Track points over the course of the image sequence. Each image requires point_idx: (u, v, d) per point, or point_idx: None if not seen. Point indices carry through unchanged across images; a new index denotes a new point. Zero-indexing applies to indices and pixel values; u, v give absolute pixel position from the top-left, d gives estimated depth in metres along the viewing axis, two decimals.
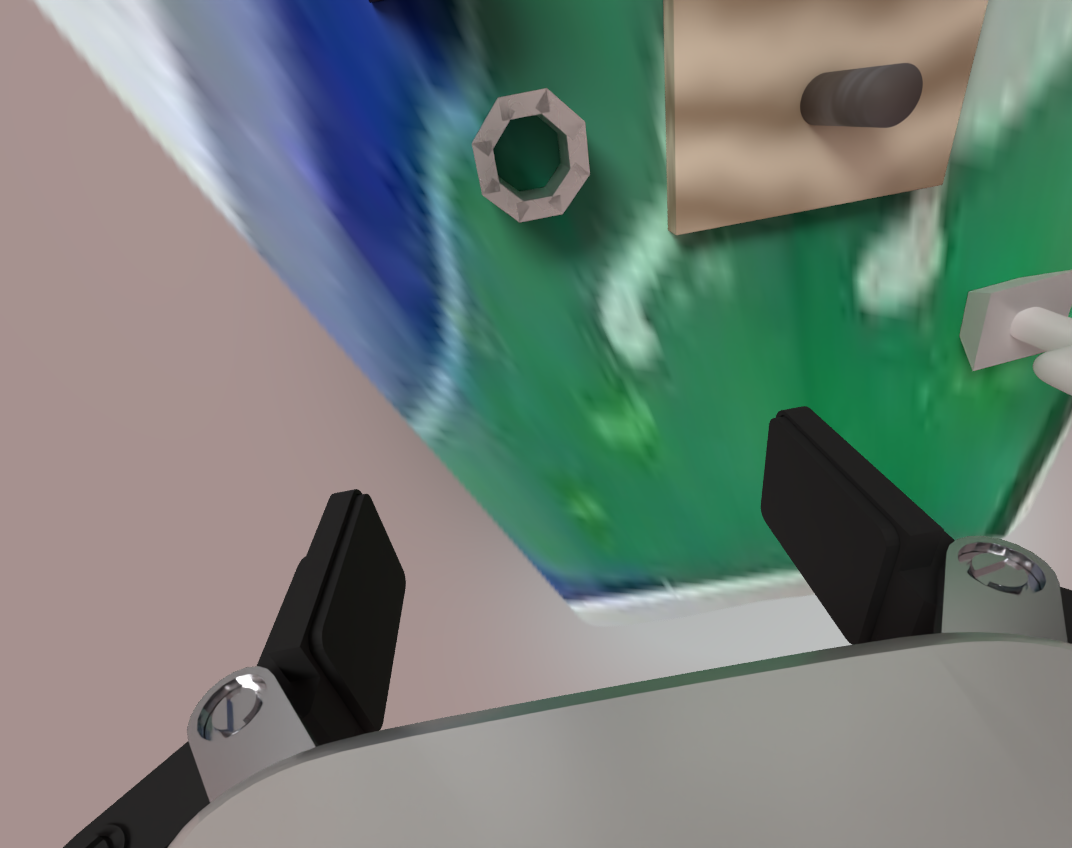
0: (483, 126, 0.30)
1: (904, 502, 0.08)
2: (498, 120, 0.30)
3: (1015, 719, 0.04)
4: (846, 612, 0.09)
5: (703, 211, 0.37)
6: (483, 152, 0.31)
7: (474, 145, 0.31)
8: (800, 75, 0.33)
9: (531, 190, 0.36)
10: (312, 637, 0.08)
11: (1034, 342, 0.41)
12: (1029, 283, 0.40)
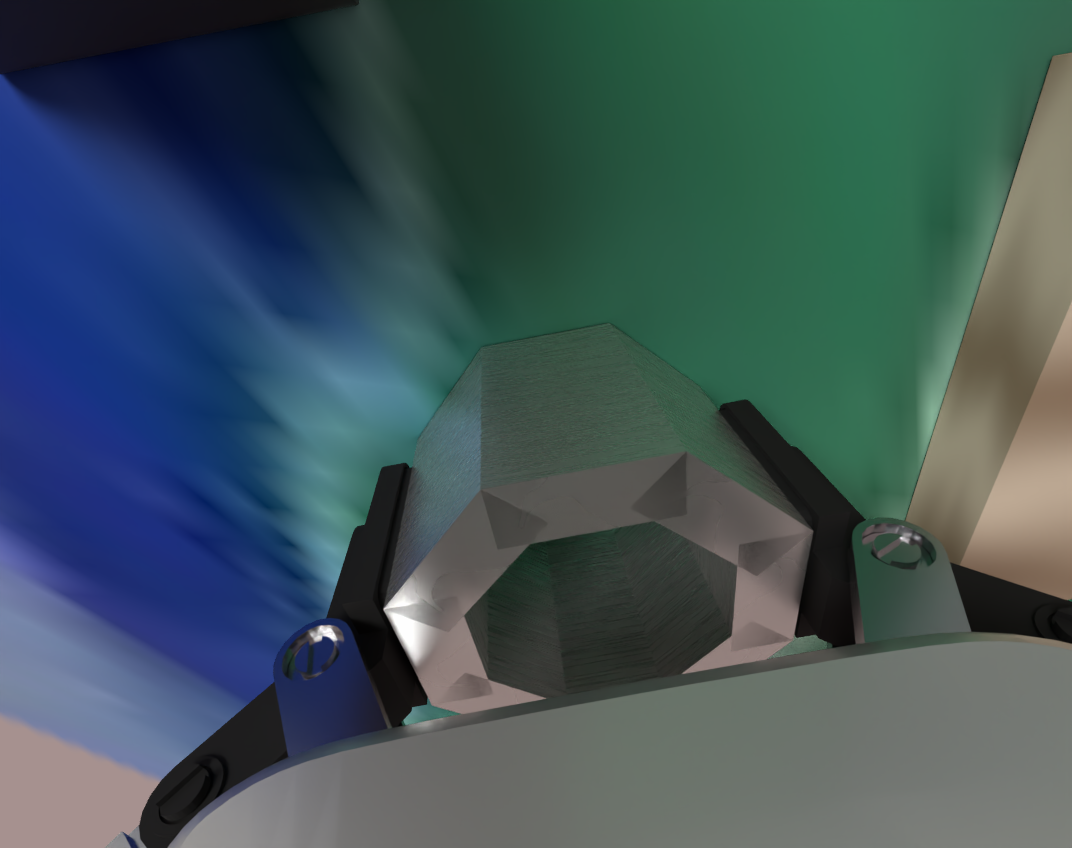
0: (424, 566, 0.08)
1: (820, 487, 0.09)
2: (480, 548, 0.08)
3: (1015, 719, 0.04)
4: None
5: (1018, 581, 0.14)
6: (429, 624, 0.08)
7: (394, 604, 0.08)
8: None
9: (576, 542, 0.14)
10: (381, 591, 0.08)
11: None
12: None
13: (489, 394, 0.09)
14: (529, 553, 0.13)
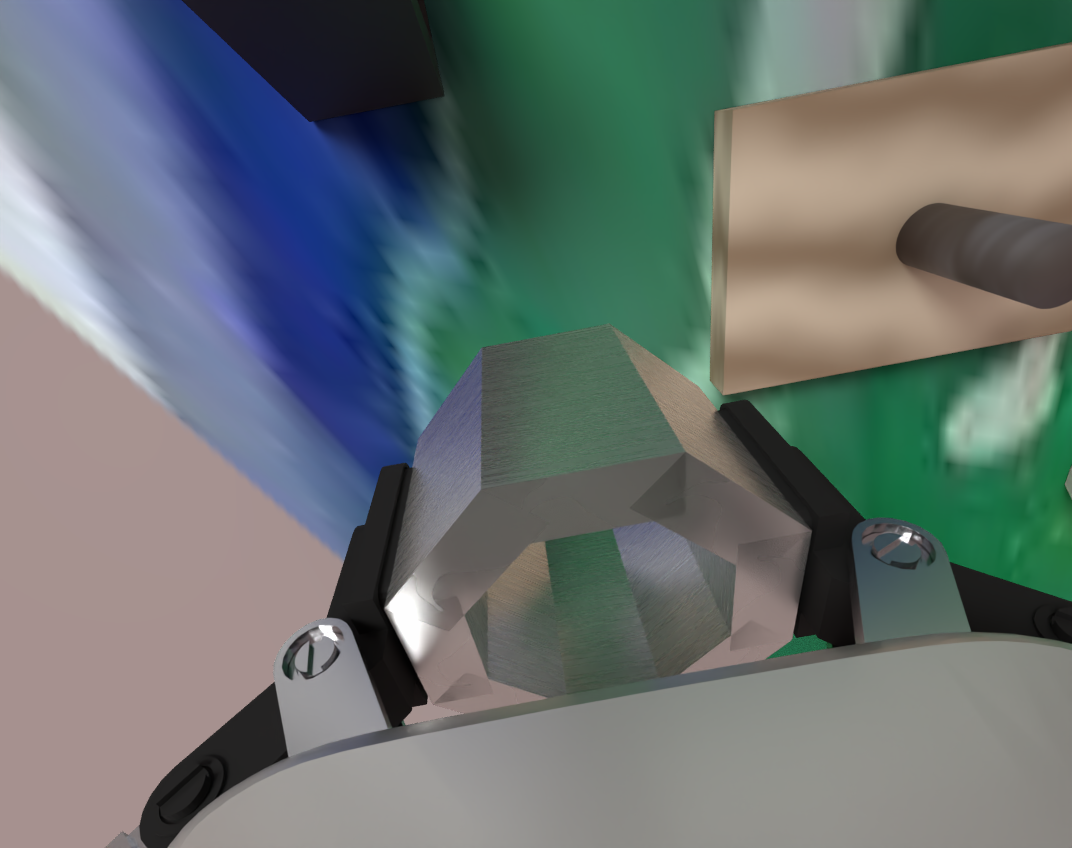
0: (424, 566, 0.08)
1: (819, 487, 0.09)
2: (480, 548, 0.08)
3: (1015, 719, 0.04)
4: None
5: (759, 368, 0.28)
6: (429, 624, 0.08)
7: (394, 604, 0.08)
8: (899, 207, 0.24)
9: (576, 542, 0.14)
10: (381, 591, 0.08)
11: None
12: None
13: (489, 395, 0.09)
14: (529, 553, 0.13)
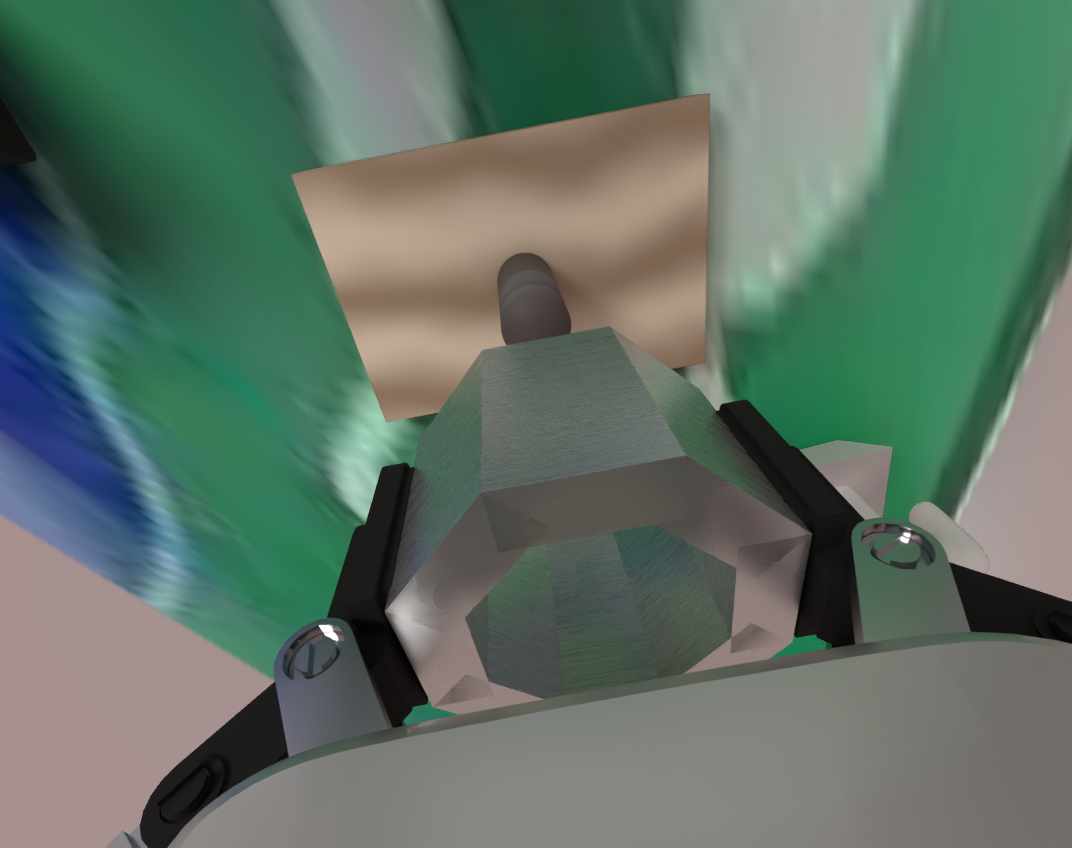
0: (425, 569, 0.08)
1: (819, 487, 0.09)
2: (481, 550, 0.08)
3: (1015, 719, 0.04)
4: None
5: (412, 398, 0.30)
6: (430, 627, 0.08)
7: (395, 607, 0.08)
8: (488, 257, 0.26)
9: (577, 544, 0.14)
10: (382, 591, 0.08)
11: None
12: (830, 463, 0.34)
13: (490, 397, 0.09)
14: (529, 555, 0.13)
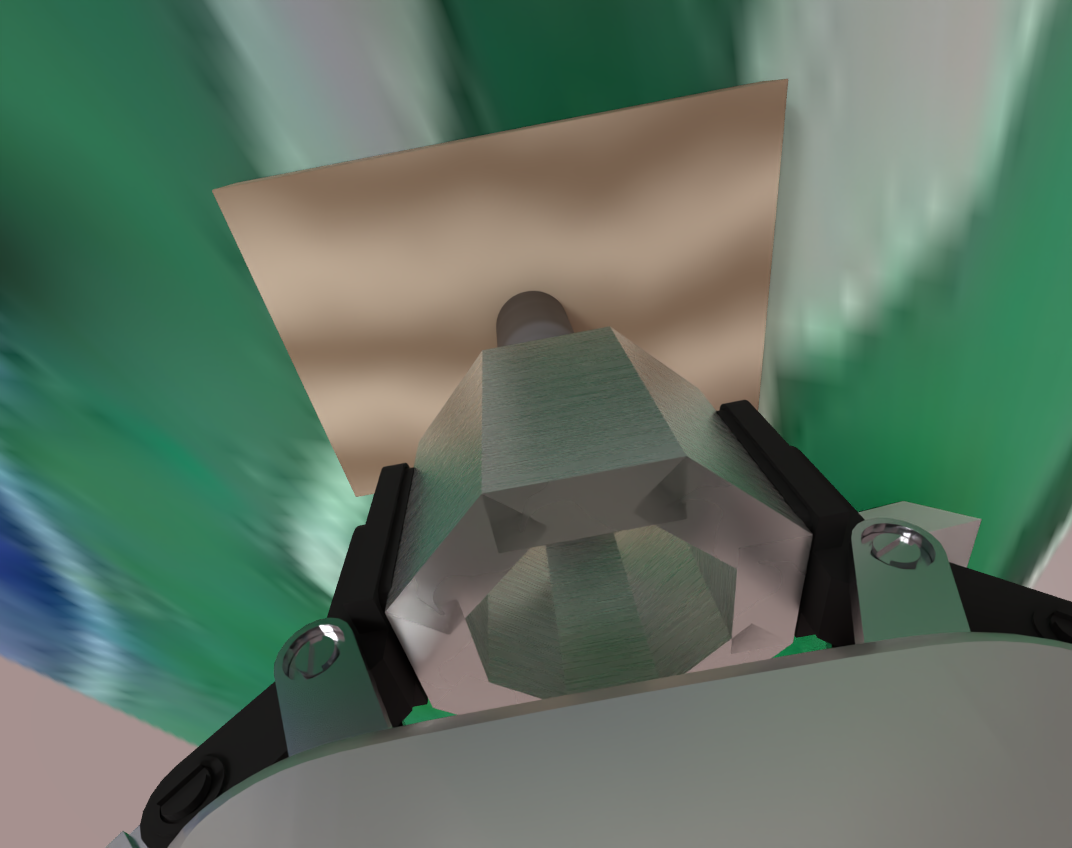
0: (425, 570, 0.08)
1: (819, 487, 0.09)
2: (481, 552, 0.08)
3: (1015, 719, 0.04)
4: None
5: None
6: (430, 628, 0.08)
7: (395, 608, 0.08)
8: (484, 297, 0.20)
9: (577, 544, 0.14)
10: (382, 591, 0.08)
11: None
12: None
13: (490, 398, 0.09)
14: (529, 555, 0.13)
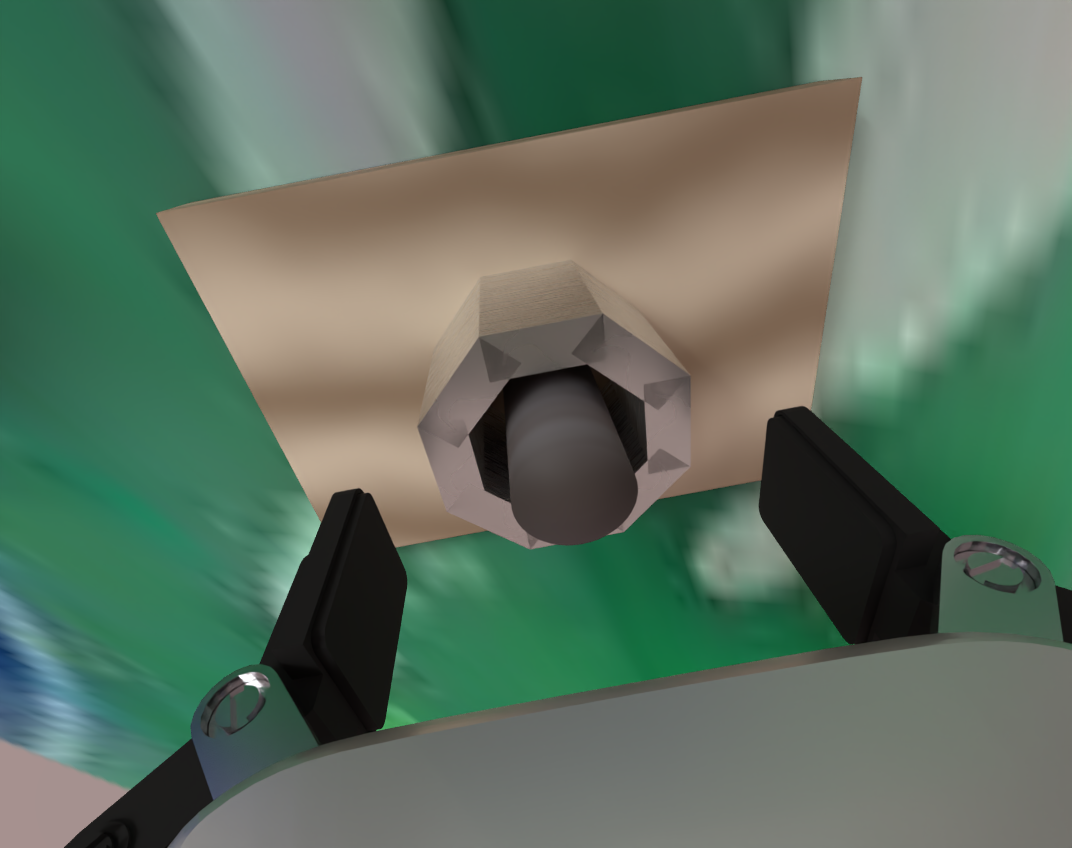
0: (443, 394, 0.12)
1: (900, 501, 0.08)
2: (478, 381, 0.12)
3: (1015, 719, 0.04)
4: (843, 611, 0.09)
5: None
6: (445, 441, 0.13)
7: (423, 426, 0.13)
8: None
9: None
10: (315, 635, 0.08)
11: None
12: None
13: (485, 298, 0.14)
14: None
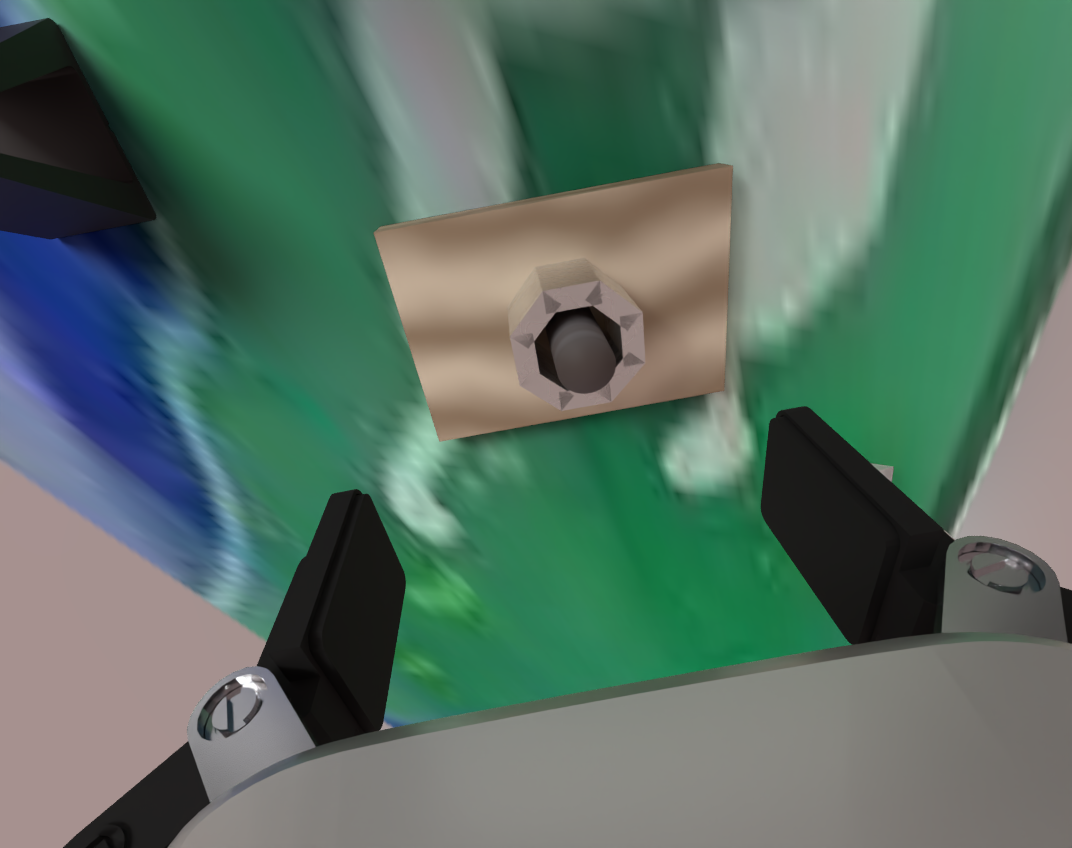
0: (523, 319, 0.26)
1: (904, 502, 0.08)
2: (541, 313, 0.26)
3: (1015, 719, 0.04)
4: (846, 612, 0.09)
5: (463, 420, 0.34)
6: (522, 344, 0.26)
7: (512, 337, 0.26)
8: None
9: None
10: (312, 637, 0.08)
11: None
12: None
13: (540, 276, 0.27)
14: (551, 358, 0.31)
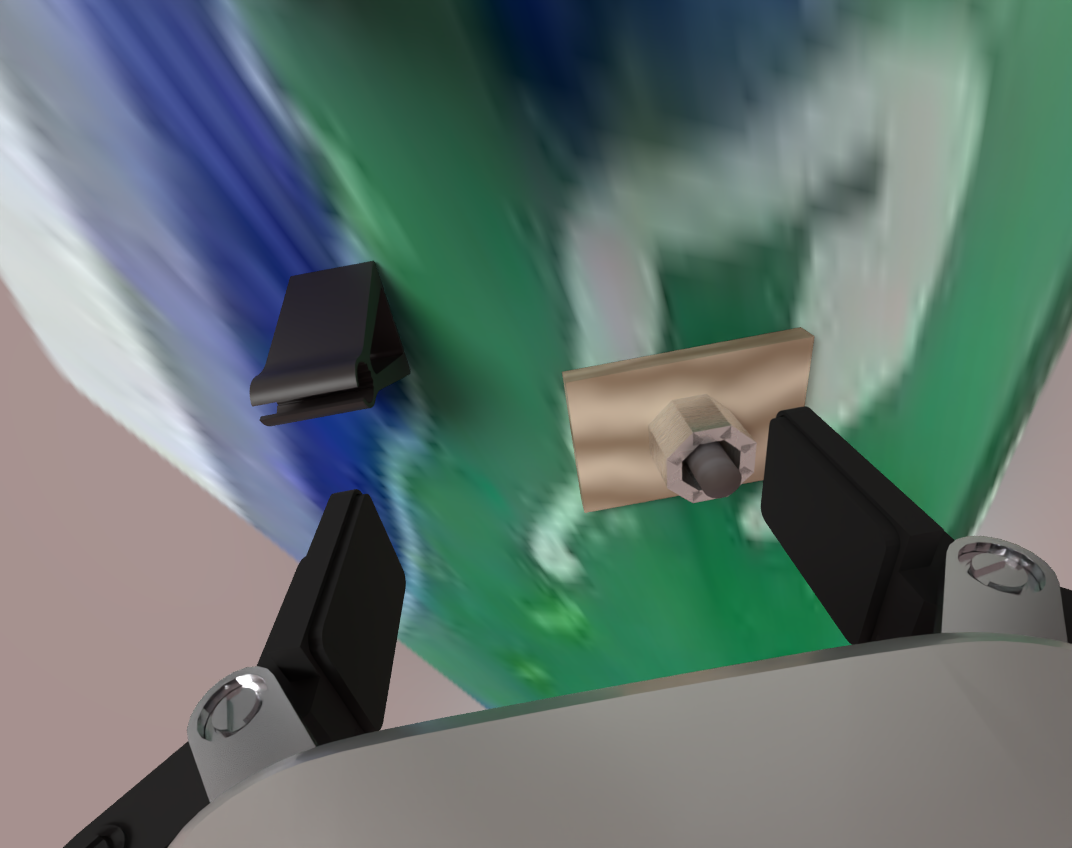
0: (677, 449, 0.38)
1: (904, 502, 0.08)
2: (689, 445, 0.38)
3: (1015, 719, 0.04)
4: (846, 612, 0.09)
5: (604, 498, 0.47)
6: (674, 464, 0.39)
7: (667, 459, 0.39)
8: None
9: None
10: (312, 637, 0.08)
11: None
12: None
13: (682, 413, 0.40)
14: None
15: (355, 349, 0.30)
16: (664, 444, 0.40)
